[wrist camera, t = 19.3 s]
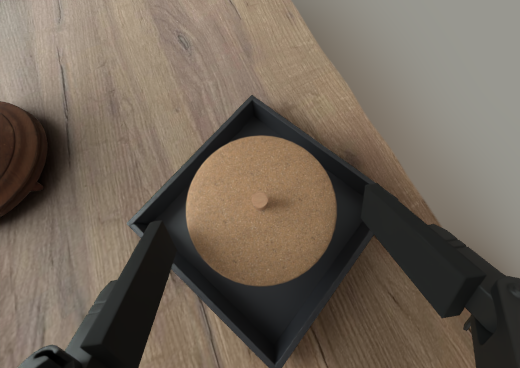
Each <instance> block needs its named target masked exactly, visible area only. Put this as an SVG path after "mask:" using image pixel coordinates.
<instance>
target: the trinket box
mask: <svg viewBox="0 0 520 368" xmlns="http://www.w3.org/2000/svg"><path fill="white" fill-rule="evenodd" d="M336 219H337V203H336V197H335V192H334V189H333V186H332V183H331V180H330V178H329V176H328V175H327V173H326V171H325V169H324V168H323V167H322V165H321V164H320V163H319V161H318V160H317V159H316V158H315V157H314V156H313V155H312V154H310V153H309V152H308V151H306V150H305V149H304V148H302V147H301V146H299V145H297V144H295V143H293V142H291V141H288V140H285V139H283V138H278V137H273V136H250V137H245V138H241V139H238V140H235V141H232V142H230V143H228V144H226V145H224V146H223V147H221V148H219V149H218V150H217V151H215V152H214V153H213V154H211V155H210V156H209V157H208V158H207V159H206V160H205V161H204V163H203V164H202V165H201V167H200V168H199V169H198V171H197V173H196V174H195V176H194V178H193V180H192V182H191V185H190V188H189V191H188V196H187V201H186V220H187V227H188V231H189V234H190V237H191V240H192V242H193V244H194V246H195V248H196V250H197V251H198V253H199V254H200V256H201V257H202V258H203V260H204V261H205V262H206V263H207V264H208V265H209V266H210V267H211V268H212V269H214V270H215V271H216V272H218V273H219V274H221V275H222V276H224V277H226V278H228V279H230V280H232V281H234V282H238V283H241V284H245V285H251V286H273V285H277V284H281V283H285V282H288V281H290V280H292V279H295V278H297V277H299V276H300V275H302V274H303V273H305V272H306V271H308V270H309V269H310V268H311V267H312V266H313V265H314V264H315V263H316V262H317V261H318V260H319V259H320V258H321V256H322V255H323V254H324V252H325V251H326V249H327V247H328V245H329V243H330V241H331V239H332V236H333V233H334V230H335V225H336Z"/></svg>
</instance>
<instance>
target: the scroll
mask: <svg viewBox="0 0 520 368" xmlns="http://www.w3.org/2000/svg"><path fill="white" fill-rule="evenodd" d="M46 157H47V138H46V134H45V131H44V129H43V126H42V125H41V123H40V122H39V121H38V120H37V118H35V117H34V116H33V115H32V114H30V113H29V112H27V111H25V110H23V109H21V108H19V107H17V106H15V105H13V104H10V103H6V102H1V101H0V217H1V216H3V215H5V214H6V213H8V212H9V211H10V210H12V209H13V208H14V207H15V206H17V205H18V204H19V203H20V202H21V201H22V200H23V199H24V198H25V197H26V196H27V195H28V193H29V192H30V191H40V190H42V189H43V186H42V185H41V184H39V183H38V182H37V180H38V179H39V177H40V175H41V173H42V170H43V168H44V165H45V161H46Z"/></svg>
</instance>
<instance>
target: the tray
mask: <svg viewBox="0 0 520 368" xmlns="http://www.w3.org/2000/svg"><path fill="white" fill-rule="evenodd" d="M250 136H273V137H278V138H283V139H285V140H288V141H291V142H293V143H295V144H297V145H299V146H301V147H302V148H304V149H305V150H306V151H308V152H309V153H310V154H312V155H313V156H314V157H315V158H316V159H317V160H318V161H319V163H320V164H321V165H322V167H323V168H324V169H325V171H326V173H327V175H328V176H329V178H330V180H331V183H332V186H333V189H334V192H335V197H336V203H337V219H336V225H335V230H334V233H333V236H332V239H331V241H330V243H329V245H328V247H327V249H326V251H325V252H324V254H323V255H322V256H321V258H320V259H319V260H318V261H317V262H316V263H315V264H314V265H313V266H312V267H311V268H310V269H309V270H308V271H306V272H305V273H303V274H302V275H300V276H299V277H297V278H295V279H292V280H290V281H288V282H285V283H281V284H277V285H273V286H251V285H245V284H241V283H238V282H234V281H232V280H230V279H228V278H226V277H224V276H222V275H221V274H219V273H218V272H216V271H215V270H214V269H212V268H211V267H210V266H209V265H208V264H207V263H206V262H205V261H204V260H203V258H202V257H201V256H200V254H199V253H198V251H197V250H196V248H195V246H194V244H193V242H192V240H191V237H190V234H189V231H188V227H187V220H186V201H187V196H188V191H189V188H190V185H191V182H192V180H193V178H194V176H195V174H196V173H197V171H198V169H199V168H200V167H201V165H202V164H203V163H204V161H205V160H206V159H207V158H208V157H209V156H210V155H211V154H213V153H214V152H215V151H217V150H218V149H219V148H221V147H223V146H224V145H226V144H228V143H230V142H232V141H235V140H238V139H241V138H245V137H250ZM369 184H375V182H374V181H372V180H371V179H369V178H368V177H367V176H365V175H364V174H362V173H361V172H360V171H358V170H357V169H355V168H354V167H353V166H351V165H350V164H348V163H347V162H346V161H344V160H343V159H341V158H340V157H338V156H337V155H336V154H334V153H333V152H331V151H330V150H329V149H327V148H326V147H324V146H323V145H322V144H320V143H319V142H317V141H316V140H315V139H313V138H312V137H310V136H309V135H308V134H306V133H305V132H303V131H302V130H301V129H299V128H298V127H296V126H295V125H293V124H292V123H291V122H289V121H288V120H286V119H285V118H284V117H282V116H281V115H279V114H278V113H277V112H275V111H274V110H272V109H271V108H270V107H268V106H267V105H265V104H264V103H263V102H261V101H260V100H258V99H257V98H255V97H254V96H253V95H251V96H250V97H249V98H248V99H247V100H246V101H245V102H244V103H243V104H242V105H241V106H240V107H239V108H238V109H237V110H236V111H235V112H234V114H233V115H232V116H231V117H230V118H229V119H228V120H227V121H226V122H225V123H224V124H223V125H222V126H221V127H220V128H219V129H218V130H217V131H216V132H215V133H214V134H213V135H212V136H211V137H210V138H209V139H208V140H207V141H206V142H205V143H204V144H203V145H202V146H201V147H200V148H199V149H198V151H197V152H196V153H195V154H194V155H193V156H192V157H191V158H190V159H189V160H188V161H187V162H186V163H185V164H184V165H183V166H182V167H181V168H180V169H179V170H178V171H177V172H176V173H175V174H174V175H173V176H172V177H171V178H170V179H169V180H168V181H167V182H166V183H165V184H164V185H163V186H162V188H161V189H160V190H159V191H158V192H157V193H156V194H155V195H154V196H153V197H152V198H151V199H150V200H149V201H148V202H147V203H146V204H145V205H144V206H143V207H142V208H141V209H140V210H139V211H138V212H137V213H136V214H135V215H134V216H133V217H132V218H131V219H130V220H129V221H128V222H127V225H128V226H129V227H130V228H131V229H132V230H133V231H134V232H135V233H136V234H137V235H138V236H139V237H140V238H142V236H143V234H144V232H145V230H146V229H147V227H148V225H149V223H150V222H155V221H161V220H162V221H163V223H164V225H165V227H166V229H167V231H168V233H169V235H170V237H171V239H172V241H173V243H174V245H175V247H176V249H177V252H176V255H175V258H174V261H173V264H172V267H171V269H172V270H173V271H174V272H175V273H176V274H177V275H178V276H179V277H180V278H181V279H182V280H183V281H184V282H185V283H186V284H187V285H188V286H189V287H190V288H191V289H192V290H193V291H194V292H195V293H196V294H197V295H198V296H199V298H200V299H201V300H202V301H203V302H204V303H205V304H206V305H207V306H208V307H209V308H210V309H211V310H212V311H213V312H214V313H215V314H216V315H217V316H218V317H219V318H220V319H221V320H222V321H223V322H224V323H225V324H226V325H227V326H228V327H229V328H230V329H231V330H232V331H233V332H234V333H235V334H236V335H237V336H238V337H239V338H240V339H241V340H242V341H243V342H244V343H245V344H246V345H247V346H248V347H249V348H250V349H251V350H252V351H253V352H254V353H255V354H256V355H257V356H258V357H259V358H260V359H261V360H262V361H263V362H264V363H265V364H266V365H267V366H268V367H269V368H282V367H283V365H284V364H285V363H286V361H287V360H288V358H289V357H290V355H291V354H292V352H293V351H294V349H295V348H296V347H297V345H298V344H299V342H300V341H301V339H302V338H303V336H304V335H305V334H306V332H307V331H308V329H309V328H310V326H311V325H312V323H313V322H314V321H315V319H316V318H317V316H318V315H319V313H320V312H321V310H322V309H323V308H324V306H325V305H326V303H327V302H328V300H329V299H330V297H331V296H332V295H333V293H334V292H335V290H336V289H337V287H338V286H339V284H340V283H341V282H342V280H343V279H344V277H345V276H346V274H347V273H348V271H349V270H350V269H351V267H352V266H353V264H354V263H355V261H356V260H357V258H358V257H359V256H360V254H361V253H362V251H363V250H364V248H365V247H366V245H367V244H368V243H369V241H370V240H371V238H372V237H373V235H374V234H373V233H372V232H371V230H370V229H369V228H368V227H367V225H366V224H365V223H364V222H363V220H362V219H361V212H362V205H363V198H364V191H365V185H369ZM387 192H388V191H387ZM388 193H389V192H388ZM390 194H391V193H390ZM391 195H392V194H391ZM392 196H393V195H392ZM393 197H394V198H396V197H395V196H393ZM396 199H397V200H398V198H396Z"/></svg>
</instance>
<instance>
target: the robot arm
mask: <svg viewBox="0 0 520 368" xmlns="http://www.w3.org/2000/svg"><path fill="white" fill-rule="evenodd" d="M361 219H362V220H363V222H364V223H365V224H366V225H367V227H368V228H369V229H370V230H371V232H372V233H373V234H374V235H375V236H376V238H377V239H378V240H379V241H380V243H381V244H382V245H383V246H384V248H385V249H386V250H387V251H388V252H389V254H390V255H391V256H392V257H393V259H394V260H395V261H396V262H397V264H398V265H399V266H400V267H401V268H402V270H403V271H404V272H405V273H406V275H407V276H408V277H409V278H410V280H411V281H412V282H413V283H414V284H415V286H416V287H417V288H418V289H419V291H420V292H421V293H422V294H423V296H424V297H425V298H426V299H427V300H428V302H429V303H430V304H431V305H432V307H433V308H434V309H435V310H436V312H437V313H438V314H439V315H440V316H441V318H446V317H452V316H458V315H460V314H461V312H462V311H463V309H464V308H466V309H467V310H468V311H469V312H470V313H471V314H472V315H471V316H470V317H469V319H468V320H467V322H466V323H465V324H464V328H463V329H464V330H466V331H467V330H468V329H469V327H470V326H471V331H472V339H473V347H474V354H475V362H476V368H520V279H519V278H515V277H510V276H505V275H504V274H502V273H501V272H499V271H498V270H497V269H496V268H494V267H493V266H492V265H491V264H489V263H488V262H487V261H485V260H484V259H483V258H481V257H480V256H479V255H478V254H477V253H475V252H474V251H473V250H471V249H470V248H469V247H466V245H465V244H464V243H462V242H461V241H460V240H457V238H456V237H455V236H453V235H452V234H451V233H450V232H448V231H447V230H445V229H443V228H441V227H439V226H437V225H435V224H431V225H427V224H426V223H424V222H423V221H422V220H421V219H420V218H418V217H417V216H416V215H415V214H414V213H412V212H411V211H410V210H409V209H408V208H406V207H405V206H404V205H403V204H402V203H400V202H399V201H398V200H397V199H396V198H394V197H393V196H392V195H391V194H390V193H388V192H387V191H386V190H385V189H384V188H382V187H381V186H380V185H379V184H378V183H375V184H369V185H365V191H364V198H363V205H362V212H361ZM176 252H177V249H176V247H175V245H174V243H173V241H172V239H171V237H170V235H169V233H168V231H167V229H166V227H165V225H164V223H163V221H162V220H161V221H155V222H150V223H149V225H148V227H147V229H146V230H145V232H144V234H143V236H142V238H141V239H140V241H139V243H138V245H137V246H136V248H135V250H134V252H133V253H132V255H131V257H130V259H129V261H128V262H127V264H126V266H125V268H124V269H123V271H122V273H121V275H120V276H119V278H118V280H115V281H111V282H110V283H109V284H108V285H107V286H106V287H105V288H104V289H103V290H102V291H101V292H100V294H99V296H98V297H97V299H96V301H95V302H94V305H92V307H91V309H90V310H89V312H88V313H89V314H88V315H86V317H85V319H84V320H83V322H82V324H81V325H80V327H79V328H78V330H77V332H76V333H75V335H74V337H73V338H72V340H71V342H70V343H69V345H68V347H67V348H66V350H65V351H64V350H62V349H61V348H59V347H58V346H55V345H49V346H46V347H43V348H41V349H39V350H38V351H36V352H34V353H33V354H32V355H31V356H29V357H28V358H27V359H26V360H25V361H24V362H23V363H22V364H21V365H20V366H19V367H18V368H138V367H139V364H140V361H141V358H142V355H143V352H144V349H145V346H146V343H147V340H148V337H149V334H150V331H151V328H152V325H153V322H154V319H155V316H156V313H157V310H158V307H159V304H160V301H161V298H162V295H163V292H164V289H165V286H166V283H167V280H168V277H169V273H170V270H171V267H172V264H173V261H174V258H175V255H176Z"/></svg>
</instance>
